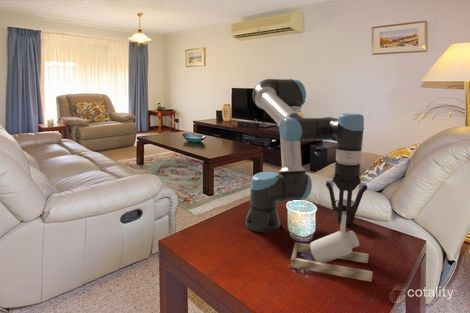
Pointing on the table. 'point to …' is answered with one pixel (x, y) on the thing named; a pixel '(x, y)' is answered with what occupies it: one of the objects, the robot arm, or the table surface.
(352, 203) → the coffee mug
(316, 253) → the pill bottle
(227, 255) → the table surface
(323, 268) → the cradle
